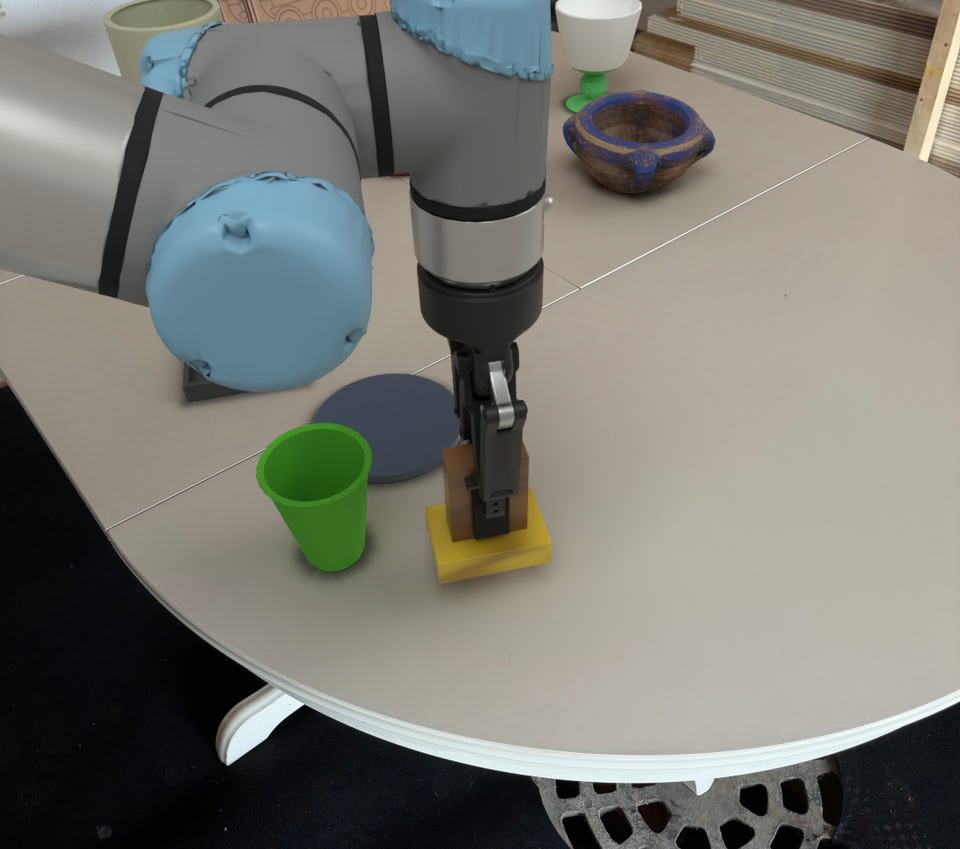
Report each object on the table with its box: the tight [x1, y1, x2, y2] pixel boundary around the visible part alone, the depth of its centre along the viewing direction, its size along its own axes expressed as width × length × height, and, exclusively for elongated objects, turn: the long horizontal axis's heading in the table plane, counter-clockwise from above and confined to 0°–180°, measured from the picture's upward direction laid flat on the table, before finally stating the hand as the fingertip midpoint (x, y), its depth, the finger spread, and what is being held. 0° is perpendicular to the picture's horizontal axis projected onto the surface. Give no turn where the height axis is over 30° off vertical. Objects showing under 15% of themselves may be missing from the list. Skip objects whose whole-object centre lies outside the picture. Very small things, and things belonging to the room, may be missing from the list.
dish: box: [181, 361, 252, 403], centre depth 90 cm, size 12×9×2 cm
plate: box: [312, 373, 462, 484], centre depth 82 cm, size 15×15×1 cm
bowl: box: [562, 89, 716, 194], centre depth 116 cm, size 18×18×10 cm
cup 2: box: [554, 0, 643, 114], centre depth 134 cm, size 14×14×16 cm
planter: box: [102, 0, 224, 83], centre depth 118 cm, size 15×16×23 cm
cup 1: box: [255, 423, 372, 573], centre depth 68 cm, size 9×9×11 cm
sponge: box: [423, 438, 553, 585], centre depth 63 cm, size 9×6×10 cm, turn 103°
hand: (486, 517), depth 64 cm, fingers closed on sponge, 2 cm apart
